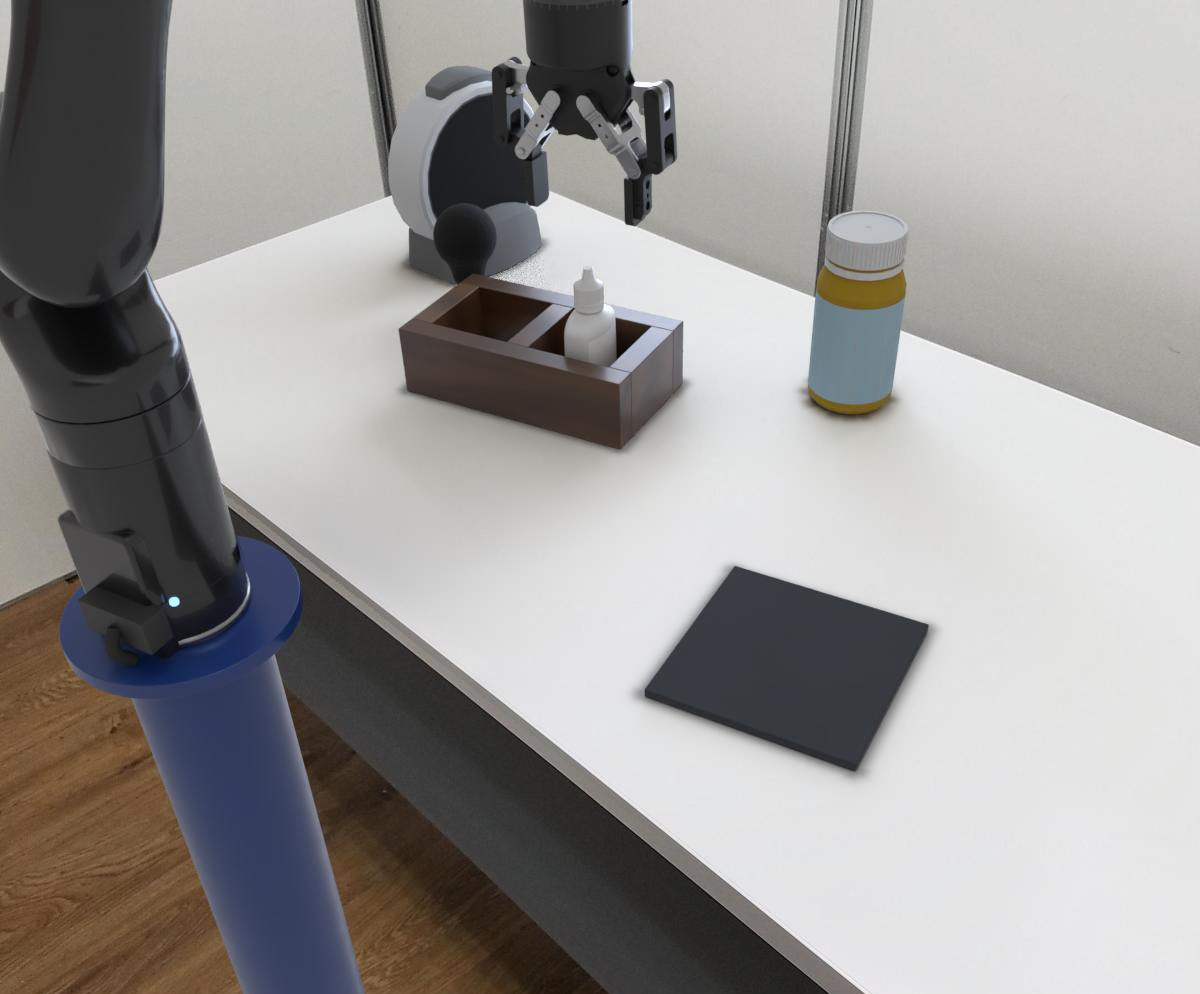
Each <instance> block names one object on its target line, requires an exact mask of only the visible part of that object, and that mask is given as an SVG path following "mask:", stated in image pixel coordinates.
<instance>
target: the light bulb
mask: <svg viewBox="0 0 1200 994" xmlns="http://www.w3.org/2000/svg"><path fill="white" fill-rule="evenodd" d="M433 239H434V244H435V248H436V250H437V252H438V254H439V255H440V256H441V258H442V259H443V260H444V261H445V262H446V263H447V264H448V265H449V267H450V269H451V271H452V275H453V278H454V280H455V282H456V284H455V285H456V286H457V285H458V284H459V283H461V282H462V281H463V280H465V279H466V278H467V277H469V276H470V275H471V274H478V275H482V276H485V270H486V264H487V262H488V260H489V258H490V257H491V256H492V254H493V252H494V250H495V246H496V242H497V233H496V228H495V225H494V222H493V221H492V219H491V218H490V216H489V215H488V214H487V213H486V212H485V211H484V210H483V209H481V208H480V207H478V206H475V205H472V204H467V203H460V204H456V205H453V206H450V207H449V208H447V209H446V210H444V211H443V212H442V214H441V215H440V216H439V217H438V219H437V221H436V223H435V226H434V231H433Z"/></svg>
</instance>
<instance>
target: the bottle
mask: <svg viewBox="0 0 1200 994" xmlns="http://www.w3.org/2000/svg"><path fill="white" fill-rule="evenodd" d="M825 235H826V236H825V246H824V247H825V248H824V251H825V252H824V264H823V266H822V268H821V270H820V272H819V274H818V277H817V279H816V286H815V294H814V295H815V297H814V308H813V318H812V319H813V320H812V329H811V330H812V332H811V340H810V341H811V342H810V352H809V353H810V354H809V363H808V374H807V375H808V376H807V390H808V393H809V395H810V396H811V397H812V399H813V400H814V401H815V402H816V403H817V404H818V405H819V406H820V407H822V408H823V409H825V410H827V411H830V412H833V413H836V414H842V415H863V414H867V413H872V412H873V411H875V410H877V409H879V408H881V407H882V406H883V405H884V404H886V403H887V402H888V401H889V400H890V398H891V396H892V393H893V387H894V382H895V374H896V366H897V360H898V359H897V358H898V352H899V344H900V339H901V338H900V337H901V329H902V324H903V317H904V308H905V301H906V294H907V280H906V276H905V271H904V266H905V256H906V253H907V245H908V239H909V226H908V224H907V222H906V221H904V220H903V219H902V218H900V217H899V216H896V215H894V214H891V213H888V212H883V211H877V210H862V209H861V210H852V211H846V212H842V213H839V214H836V215H835V216H833V217H832V218H831V219H830V220H829V221H828V224H827V226H826V234H825Z"/></svg>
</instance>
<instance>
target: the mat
mask: <svg viewBox="0 0 1200 994" xmlns="http://www.w3.org/2000/svg"><path fill="white" fill-rule="evenodd" d="M929 626H930V625H929V624H928V623H926V622H923V621H919V620H915V619H912V618H909V617H905V616H902V615H899V614H895V613H892V612H889V611H886V610H882V609H879V608H877V607H874V606H869V605H866V604H863V603H860V602H856V601H853V600H849V599H846V598H844V597H840V596H836V595H834V594H833V595H832V594H830V593H826V592H823V591H820V590H817V589H814V588H810V587H807V586H803V585H800V584H797V583H793V582H790V581H787V580H783V579H780V578H777V577H773V576H770V575H767V574H764V573H761V572H757V571H754V570H751V569H747V568H744V567H741V566H737V565H734V566H733V567H732V568H731V570H730V572H729V573H728V575H727V576H726V577H725V579H724V580H723V581H722V582H721V584H720V585H719V587H718V588H717V589H716V591H715V592H714V593H713V595H712V596H711V597H710V599H709V600H708V602H706V605H705V606H704V607H703V609H702V610H701V611H700V613H699V614H698V616H697V617H696V618H695V619H694V620H693V622H692V623H691V625H690V626H689V628H688V629H687V630H686V632H685V633H684V634H683V636H682V638H681V639H680V640H679V641H678V642H677V644H676V646H675V647H674V648H673V650H672V651H671V653H670V654H669V655H668V657H667V658H666V660H664V662H663V663H662V664H661V666H660V667H659V669H658V670H657V672H656V673H655V674H654V676H653V677H652V679H651V680H650V681H649V683H648V684H647V685H646V687H645V688H644V697H647V698H650V699H653V700H655V701H659V702H661V703H664V704H666V705H669V706H672V707H675V708H677V709H680V710H683V711H686V712H689V713H692V714H694V715H697V716H700V717H702V718H706V719H709V720H712V721H714V722H717V723H720V724H723V725H726V726H728V727H731V728H734V729H736V730H739V731H742V732H745V733H748V734H751V735H753V736H756V737H759V738H762V739H764V740H768V741H770V742H773V743H776V744H779V745H781V746H784V747H787V748H790V749H793V750H796V751H799V752H802V753H804V754H806V755H810V756H812V757H815V758H818V759H821V760H824V761H827V762H829V763H832V764H835V765H838V766H840V767H843V768H846V769H848V770H852V771H857V769H858V767H859V765H860V762H861V761H862V759H863V757H864V755H865V753H866V751H867V749H868V747H869V745H870V743H871V741H872V739H873V738H874V736H875V733H876V732H877V730H878V727H879V726H880V723H882V720H883V718H884V716H885V714H886V712H887V710H888V709H889V707H890V705H891V703H892V700H893V699H894V697H895V695H896V693H897V691H898V690H899V687H900V685H901V684H902V682H903V679H904V678H905V676H906V675H907V674H906V673H907V672H908V670H909V668H910V666H911V664H912V662H913V660H914V658H915V656H916V654H917V652H918V650H919V648H920V646H921V645H922V642H923V641H924V639H925V637H926V635H927V633H928V631H929Z"/></svg>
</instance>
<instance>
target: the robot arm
mask: <svg viewBox="0 0 1200 994" xmlns="http://www.w3.org/2000/svg"><path fill="white" fill-rule="evenodd" d="M173 2H174V0H10V29H9V30H10V32H9V45H8V54H7V64H6V71H5V80H4V87H3V90H1V91H0V344H1V347H2V349H3V351H4V353H5V355H6V356H7V358H8V359H9V362H10V363H11V366H12V368H13V369H14V372H15V374H16V375H17V377H18V379H19V382H20V384H21V386H22V389H23V392H24V394H25V397H26V400H27V402H28V405H29V406H30V409H31V412H32V415H33V418H34V420H35V423H36V426H37V428H38V432H39V433H40V436H41V439H42V441H43V444H44V447H45V451H46V453H47V455H48V458H49V461H50V464H51V467H52V469H53V472H54V475H55V477H56V480H57V482H58V486H59V488H60V490H61V493H62V496H63V498H64V501H65V504H66V506H67V509H66V510H64V511H63V512H62V513H60V514H59V515H58V517H57V524H58V527H59V528H60V529H59V530H60V531H61V534H62V537H63V539H64V543H65V544H66V547H67V550H68V553H69V555H70V558H71V560H72V563H73V565H74V568H75V571H76V574H77V575H78V579H79V581H80V585H82V587H83V589H84V592H85V594H84V595H83V596H82V597H81V598H79V599H78V603H79V605H80V608H81V611H82V613H83V616H84V618H85V621H86V623H87V626H88V629H90V630H92V631H95V632H97V633H99V634H102V635H104V636H106V637H105V650H106V653H107V655H108V656H109V658H110V659H111V660H113V661H115V662H117V663H119V664H123V665H128V666H130V667H131V666H134V665H135V664H136V663H137V662H138V659H139V658H138V655H137V654H135V653H133V652H130V651H126V650H122V649H121V647H120V642H121V643H124V644H126V645H129V646H131V647H133V648H136V649H138V650H141V651H143V652H146V653H148V654H150V655H153V654H154V655H157V656H159V657H162V658H164V659H168V658H170V657H171V656H173V655H174V654H175V653H176V652H178V651H179V650H181V649H183V648H188V647H192V646H195V645H198V644H201V643H204V642H206V641H208V640H211V639H213V638H215V637H217V636H219V635H220V634H222V633H224V632H225V631H227V630H228V629H229V628H231V627H232V626H233V625H234V624H235V623H236V622H238V621H239V620H240V618H241V617H242V616H243V615H244V613H245V612H246V610H247V609H248V607H249V604H250V601H251V597H252V589H251V585H250V581H249V578H248V575H247V573H246V572H245V569H244V565H243V561H242V558H241V554H240V550H239V546H240V544H239V546H238V543H239V541H238V543H237V540H238V537H237V539H236V536H238V535H237V531H236V528H235V527H234V523H233V521H232V517H231V514H230V511H229V505H228V502H227V499H226V496H225V492H224V488H223V484H222V480H221V477H220V473H219V470H218V466H217V462H216V458H215V455H214V452H213V448H212V444H211V439H210V437H209V432H208V429H207V426H206V422H205V419H204V414H203V410H202V407H201V403H200V399H199V395H198V392H197V388H196V384H195V380H194V376H193V373H192V369H191V367H190V362H189V358H188V355H187V351H186V348H185V344H184V341H183V340H184V339H183V337H182V334H181V332H180V329H179V327H178V326H177V323H176V322H175V319H174V317H173V316H172V314H171V312H170V311H169V309H168V307H167V306H166V304H165V302H164V301H163V299H162V297H161V295H160V293H159V291H158V289H157V287H156V284H155V283H154V281H153V278H152V276H151V274H150V272H149V269H148V266H149V264H150V262H151V260H152V258H153V256H154V254H155V252H156V249H157V246H158V243H159V239H160V236H161V232H162V228H163V219H164V208H165V176H166V175H165V165H166V164H165V163H166V162H165V161H166V159H165V156H166V153H165V151H166V150H165V149H166V147H165V145H166V144H165V143H166V94H167V93H166V90H167V89H166V88H167V87H166V85H167V65H168V64H167V63H168V62H167V61H168V48H169V34H170V24H171V17H172V9H173ZM522 6H523V19H524V20H523V21H524V22H523V23H524V36H525V51H526V55H527V57H528V59H529V65H526V64H523V62H522V61H521V59H520V58H519V57H518V56H512V57H510V58H507V59H506V60H505V61H502V62H500V63H499V64H497V65H496V66H494V67H492V69H491V72H492V98H493V124H494V140H495V143H496V144H497V145H498V146H499V147H505V146H507V147H508V148H510V149H512V150H513V151H515V153H516V155H517V156H518V157H519V164H520V177H521V190H522V193H523V195H524V197H527V203H528V205H530V207H535V208H538V207H540V206H541V205H543V204H544V203H545V202H547V201H548V200H549V197H550V183H549V182H550V181H549V170H548V168H549V167H548V166H549V165H548V153H547V151H545V150H543V147H544V146H545V145H546V144H547V142H548V140H549V139H550V137H552V135H553V133H554V132H555V131H557V135H560V136H566V137H567V136H573V135H577V136H579V137H581V138H583V139H585V140H590V141H596V140H598V139H599V141H600V142H601V143H602V145H603V147H604V148H605V150H606V151H607V152H608V154H610V155H612V156H614V157H615V158H616V160H617V161H618V163H619V165H620V166H621V168H622V169H623V170H624V172H625V174H626V176H625V177H623V202H624V203H623V204H624V206H623V207H624V209H623V210H624V224H625V225H626V226H630V227H636V226H638V225H639V224H641V222H643V221H644V220H645V219H646V217H647V216H649V214H650V213H651V210H652V209H653V175H654V176H658V175H660V174H662V173H663V172H664V171H665V170H666V169H667V168H668V167H670V166H671V165H672V164H674V163H675V162H677V160H678V141H677V140H678V139H677V124H676V123H677V122H676V120H677V119H676V104H675V103H676V101H675V86H674V84H673V82H672V81H671V80H670V79H668V78H662V79H661V80H659V81H657V82H644V81H637V80H636V78H635V75H634V73H633V71H632V57H633V47H634V45H633V42H634V41H633V0H522ZM527 88H528V91H529V92H530V93H531V95H532V97H533V99H534V100H535V102H536V103H537V105H538V108H536V111H535V112H534V115H533V117H532V118H531V120H530V121H529V123H528V124H527V126H526V128H525V129H524V105H523V98H524V93H525V92H526V91H527ZM633 102H635V103H636V104H637V106H638V113H639V115H640V116H643V118H644V130H645V132H644V133H645V139H644V137H643V134H642V133H643V130H642V127H641V125H640V124H639V122H638V120H637V118H636V116H635V115H634V114H633V112H632V111H631V108H630V107H631V105H632V104H633ZM617 126H618V127H619V128H620V131H621V133H619V132H618V131H617V129H616V127H617ZM240 549H241V547H240ZM241 553H242V550H241ZM242 556H243V554H242ZM243 559H244V558H243ZM244 563H245V562H244ZM245 566H246V565H245Z"/></svg>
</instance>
